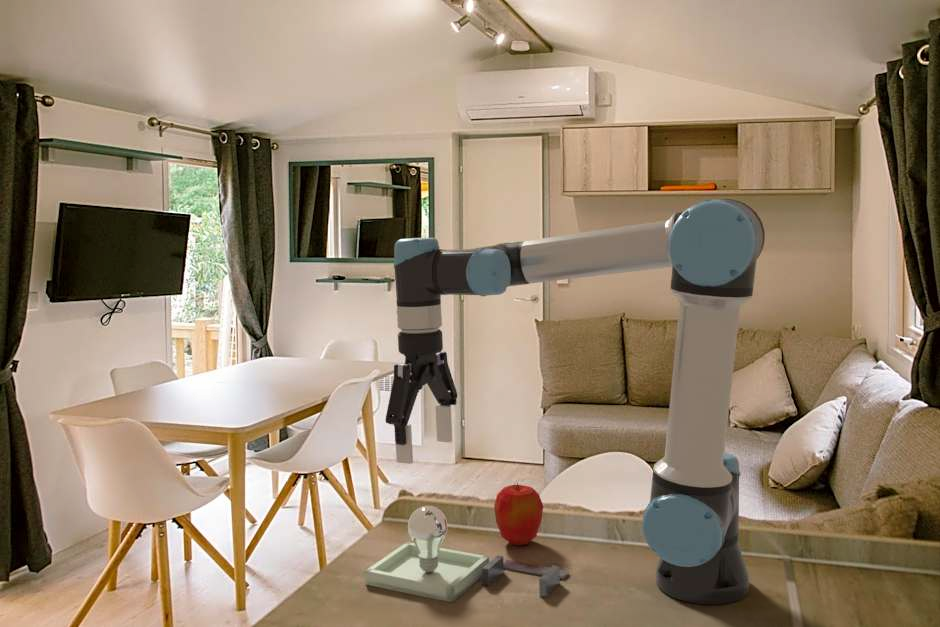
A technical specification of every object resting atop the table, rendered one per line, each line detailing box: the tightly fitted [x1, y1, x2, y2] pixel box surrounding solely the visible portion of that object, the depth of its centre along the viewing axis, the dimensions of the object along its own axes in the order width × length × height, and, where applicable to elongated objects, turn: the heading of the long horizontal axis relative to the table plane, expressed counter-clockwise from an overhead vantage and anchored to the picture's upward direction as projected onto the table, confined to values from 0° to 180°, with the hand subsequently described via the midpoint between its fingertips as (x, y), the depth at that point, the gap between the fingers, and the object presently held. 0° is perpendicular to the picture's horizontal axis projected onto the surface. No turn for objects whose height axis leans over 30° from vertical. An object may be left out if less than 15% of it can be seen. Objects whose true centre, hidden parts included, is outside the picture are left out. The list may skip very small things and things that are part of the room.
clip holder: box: [481, 555, 570, 598], centre depth 153 cm, size 12×10×3 cm
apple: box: [493, 482, 544, 546], centre depth 169 cm, size 9×9×12 cm
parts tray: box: [364, 541, 490, 604], centre depth 155 cm, size 17×14×2 cm
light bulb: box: [407, 505, 449, 574], centre depth 155 cm, size 7×7×12 cm
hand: (425, 451), depth 152 cm, fingers open, 13 cm apart
